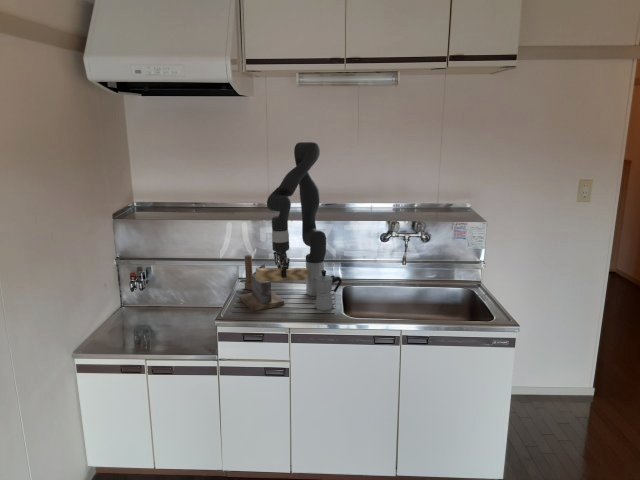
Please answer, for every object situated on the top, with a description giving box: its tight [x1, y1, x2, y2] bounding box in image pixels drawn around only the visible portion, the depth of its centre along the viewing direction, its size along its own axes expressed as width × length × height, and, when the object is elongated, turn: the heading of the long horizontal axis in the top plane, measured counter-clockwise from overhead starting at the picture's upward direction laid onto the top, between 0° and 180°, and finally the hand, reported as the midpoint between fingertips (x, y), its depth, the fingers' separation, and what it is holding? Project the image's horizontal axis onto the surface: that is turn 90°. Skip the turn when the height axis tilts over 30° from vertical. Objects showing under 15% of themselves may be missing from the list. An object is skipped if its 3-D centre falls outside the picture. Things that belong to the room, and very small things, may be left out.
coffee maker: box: [310, 269, 343, 312], centre depth 226 cm, size 15×9×18 cm, turn 101°
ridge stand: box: [239, 274, 285, 312], centre depth 234 cm, size 16×18×12 cm
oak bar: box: [255, 267, 308, 282], centre depth 220 cm, size 24×4×5 cm, turn 117°
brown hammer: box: [244, 254, 266, 291], centre depth 250 cm, size 4×11×18 cm, turn 68°
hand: (282, 276), depth 221 cm, fingers closed on oak bar, 3 cm apart
